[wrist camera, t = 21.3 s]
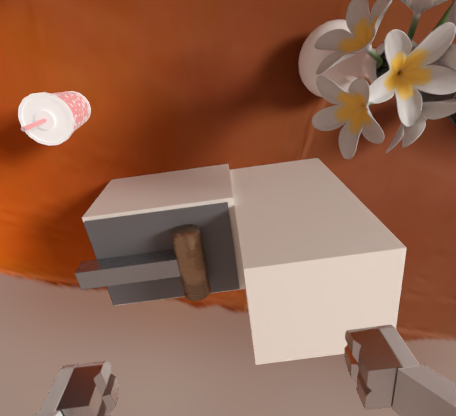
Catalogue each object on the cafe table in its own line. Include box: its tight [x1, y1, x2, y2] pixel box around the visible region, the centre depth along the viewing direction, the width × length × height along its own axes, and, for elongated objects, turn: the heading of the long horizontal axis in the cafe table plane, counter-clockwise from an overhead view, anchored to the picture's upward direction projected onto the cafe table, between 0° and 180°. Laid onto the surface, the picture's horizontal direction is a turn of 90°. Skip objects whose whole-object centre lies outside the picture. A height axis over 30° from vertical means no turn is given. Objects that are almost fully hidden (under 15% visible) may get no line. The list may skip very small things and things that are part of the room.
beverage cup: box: [18, 91, 91, 146], centre depth 40 cm, size 6×6×14 cm
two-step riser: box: [82, 158, 406, 365], centre depth 42 cm, size 32×14×26 cm, turn 97°
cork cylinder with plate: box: [75, 224, 211, 301], centre depth 41 cm, size 16×9×4 cm, turn 98°
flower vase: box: [298, 0, 456, 159], centre depth 34 cm, size 13×18×25 cm
